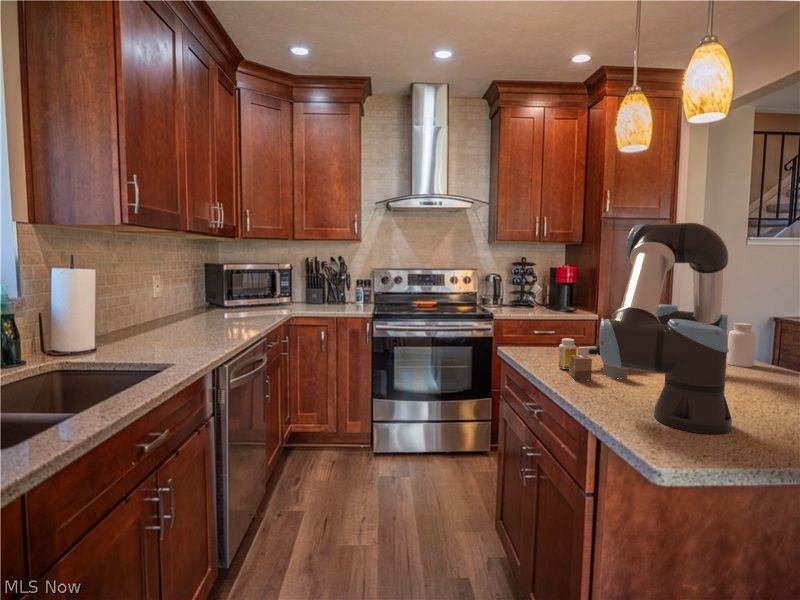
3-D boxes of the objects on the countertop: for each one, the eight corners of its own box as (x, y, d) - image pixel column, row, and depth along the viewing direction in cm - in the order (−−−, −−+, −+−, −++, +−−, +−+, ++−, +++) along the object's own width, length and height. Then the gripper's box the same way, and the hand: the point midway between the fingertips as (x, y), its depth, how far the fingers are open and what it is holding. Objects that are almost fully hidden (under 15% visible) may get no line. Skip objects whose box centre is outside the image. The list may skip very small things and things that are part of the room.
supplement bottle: (578, 369, 156) (580, 339, 155) (570, 371, 153) (571, 341, 152) (563, 366, 161) (565, 337, 160) (555, 368, 157) (556, 338, 156)
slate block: (627, 379, 144) (628, 356, 144) (613, 379, 143) (614, 357, 143) (616, 375, 149) (617, 353, 148) (602, 375, 148) (604, 353, 147)
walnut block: (590, 381, 141) (592, 358, 140) (574, 380, 141) (575, 358, 141) (585, 377, 146) (586, 354, 145) (569, 376, 146) (570, 354, 146)
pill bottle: (731, 366, 163) (734, 324, 161) (722, 361, 170) (725, 321, 169) (757, 368, 160) (761, 325, 159) (747, 363, 168) (750, 322, 167)
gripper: (651, 363, 156) (589, 366, 151) (625, 355, 169) (567, 357, 164) (653, 342, 155) (591, 344, 150) (626, 335, 168) (568, 337, 163)
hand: (578, 351), depth 157 cm, fingers closed
